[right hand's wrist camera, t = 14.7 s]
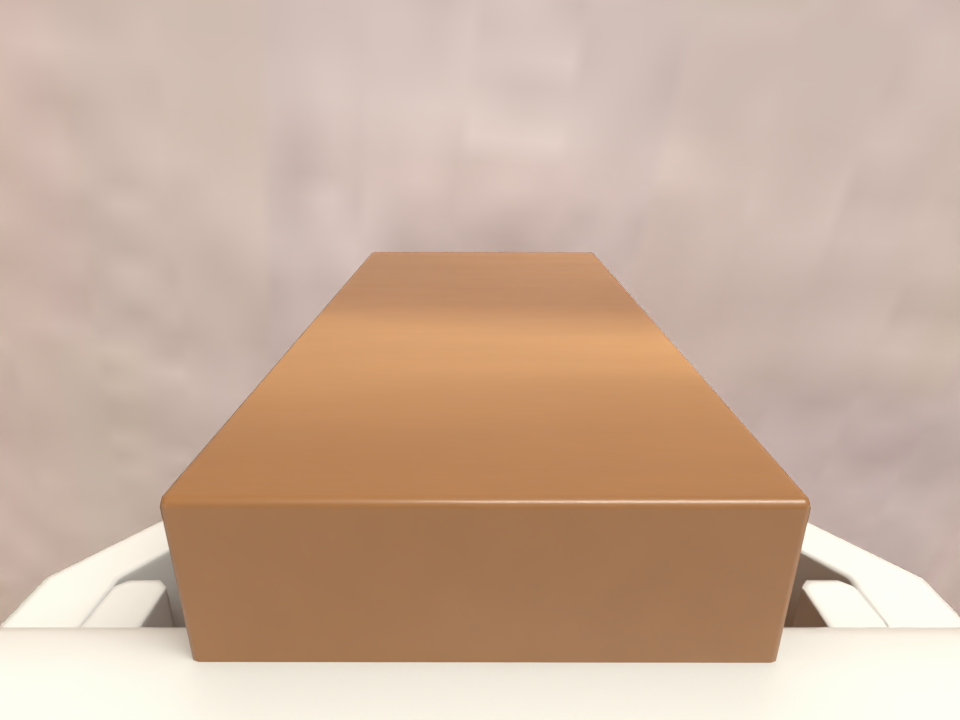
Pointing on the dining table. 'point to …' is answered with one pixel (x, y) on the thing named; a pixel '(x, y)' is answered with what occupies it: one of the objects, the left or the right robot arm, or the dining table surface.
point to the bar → (484, 484)
